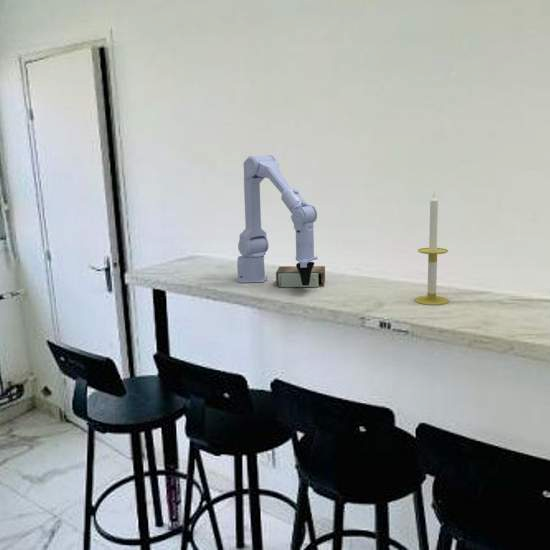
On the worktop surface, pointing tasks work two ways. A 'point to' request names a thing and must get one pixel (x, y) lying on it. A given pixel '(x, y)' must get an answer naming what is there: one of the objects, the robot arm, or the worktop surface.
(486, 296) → the worktop surface
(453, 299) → the worktop surface
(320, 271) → the cabinet
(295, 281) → the door
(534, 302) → the worktop surface
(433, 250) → the candle
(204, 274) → the worktop surface
